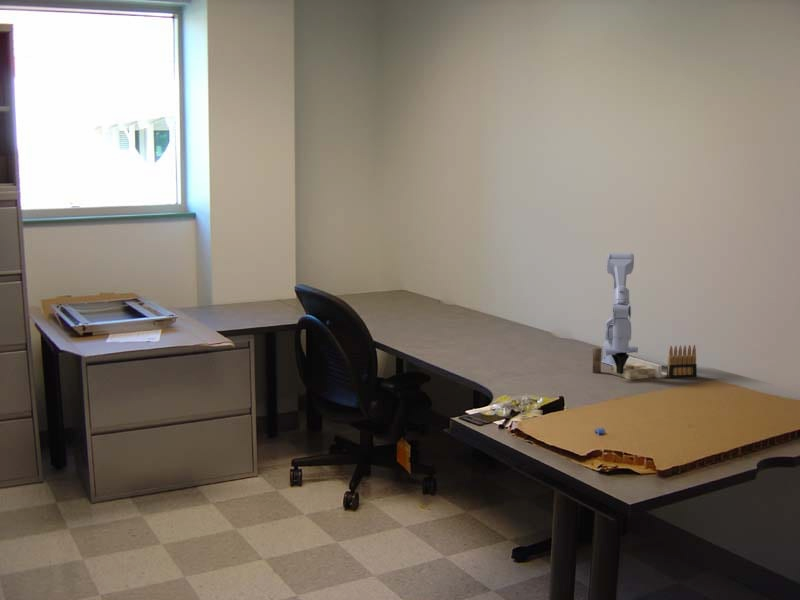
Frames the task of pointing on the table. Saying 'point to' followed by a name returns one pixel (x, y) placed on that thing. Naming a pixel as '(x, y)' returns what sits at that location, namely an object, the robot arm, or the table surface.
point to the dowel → (596, 360)
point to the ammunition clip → (682, 363)
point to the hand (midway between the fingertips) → (619, 373)
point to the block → (634, 371)
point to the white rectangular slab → (652, 365)
